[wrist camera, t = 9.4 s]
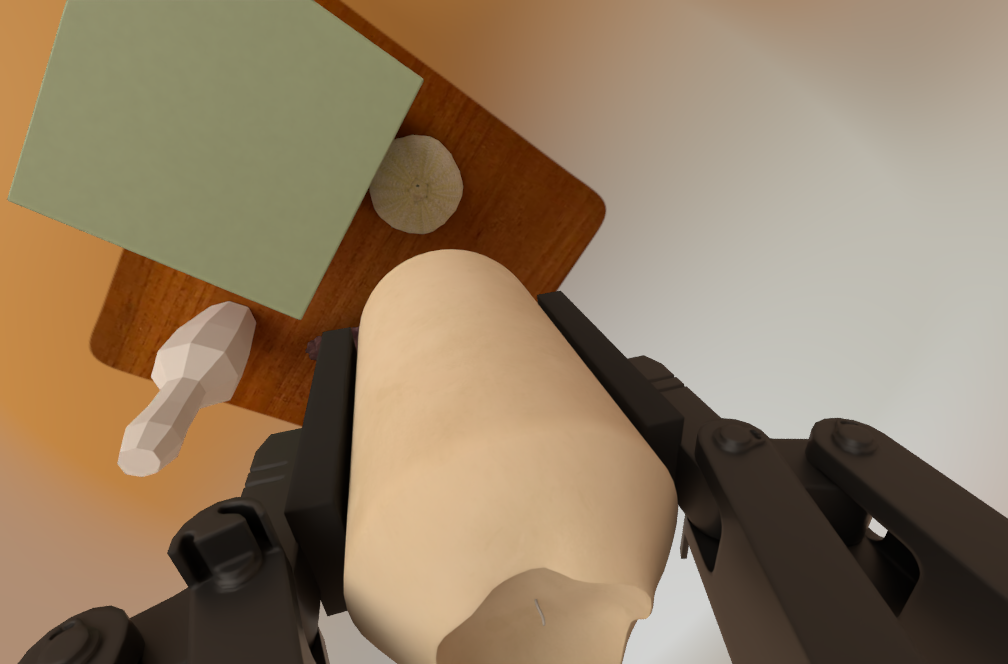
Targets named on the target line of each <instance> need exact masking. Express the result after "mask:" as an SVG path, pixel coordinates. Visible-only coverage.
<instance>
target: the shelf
mask: <svg viewBox="0 0 1008 664" xmlns="http://www.w3.org/2000/svg"><path fill="white" fill-rule="evenodd" d="M422 83H423V78H421V77H420V76H419V75H417V74H416V73H414V72H413V71H412V70H410V69H409V68H407V67H406V66H405V65H403V64H402V63H400V62H399V61H398V60H396V59H395V58H393V57H392V56H391V55H389V54H388V53H386V52H385V51H384V50H382V49H381V48H379V47H378V46H377V45H375V44H374V43H372V42H371V41H370V40H368V39H367V38H365V37H364V36H362V35H361V34H360V33H358V32H357V31H355V30H354V29H353V28H351V27H350V26H348V25H347V24H346V23H344V22H343V21H341V20H340V19H339V18H337V17H336V16H334V15H333V14H332V13H330V12H329V11H327V10H326V9H325V8H323V7H322V6H320V5H319V4H318V3H316V2H315V1H313V0H67V1H66V4H65V7H64V11H63V14H62V18H61V21H60V24H59V28H58V31H57V34H56V38H55V41H54V44H53V48H52V51H51V54H50V58H49V61H48V64H47V68H46V72H45V75H44V78H43V81H42V85H41V88H40V92H39V95H38V98H37V101H36V105H35V108H34V111H33V115H32V118H31V122H30V125H29V128H28V132H27V135H26V138H25V142H24V145H23V149H22V152H21V155H20V159H19V162H18V166H17V169H16V172H15V175H14V179H13V182H12V185H11V189H10V192H9V195H8V201H10V202H13V203H15V204H17V205H20V206H23V207H25V208H27V209H30V210H32V211H35V212H37V213H39V214H42V215H44V216H47V217H49V218H52V219H54V220H57V221H59V222H61V223H64V224H66V225H69V226H71V227H74V228H76V229H79V230H81V231H84V232H86V233H89V234H91V235H93V236H96V237H98V238H101V239H103V240H106V241H108V242H111V243H113V244H115V245H118V246H120V247H123V248H125V249H127V250H130V251H132V252H135V253H137V254H140V255H142V256H145V257H147V258H149V259H152V260H154V261H157V262H159V263H162V264H164V265H167V266H169V267H171V268H174V269H176V270H179V271H181V272H184V273H186V274H189V275H191V276H193V277H196V278H198V279H201V280H203V281H206V282H208V283H211V284H213V285H215V286H218V287H220V288H223V289H225V290H228V291H230V292H233V293H235V294H237V295H240V296H242V297H245V298H247V299H250V300H252V301H255V302H257V303H259V304H262V305H264V306H267V307H269V308H272V309H274V310H277V311H279V312H281V313H284V314H286V315H289V316H291V317H294V318H296V319H298V320H301V319H302V317H303V315H304V313H305V311H306V309H307V307H308V305H309V304H310V302H311V300H312V298H313V296H314V294H315V292H316V290H317V288H318V286H319V284H320V282H321V280H322V278H323V276H324V274H325V272H326V270H327V268H328V266H329V265H330V263H331V261H332V259H333V257H334V255H335V253H336V251H337V249H338V247H339V245H340V243H341V241H342V239H343V237H344V235H345V233H346V231H347V229H348V227H349V226H350V224H351V222H352V220H353V218H354V216H355V214H356V212H357V210H358V208H359V206H360V204H361V202H362V200H363V198H364V196H365V194H366V192H367V190H368V188H369V187H370V185H371V183H372V181H373V179H374V177H375V175H376V173H377V171H378V169H379V167H380V165H381V163H382V161H383V159H384V157H385V155H386V153H387V151H388V149H389V148H390V146H391V144H392V142H393V140H394V138H395V136H396V134H397V132H398V130H399V128H400V126H401V124H402V122H403V120H404V118H405V116H406V114H407V112H408V110H409V109H410V107H411V105H412V103H413V101H414V99H415V97H416V95H417V93H418V91H419V89H420V87H421V85H422Z"/></svg>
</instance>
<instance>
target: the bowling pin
mask: <svg viewBox="0 0 1008 664" xmlns="http://www.w3.org/2000/svg"><path fill="white" fill-rule="evenodd" d="M255 326H256V321H255V319H254V317H253V315H252V313H251V311H250V309H249V307H246V306H243V305H240V304H237V303H233V302H230V301H228V302H224V303H221V304H217V305H213V306H210V307H209V308H207V309H206V310H204V311H203V312H202V313H200V314H199V315H197V316H196V317H194V318H193V319H192V320H190V321H189V322H187V323H186V324H184V325H183V326H182V327H180V328H179V329H177V330H176V331H175V333H174V334H173V335H172V336H171V337H170V338H169V339H168V341H167V342H166V343H165V344H164V345H163V346H162V347H161V349H160V350H159V351H158V353H157V357H156V361H155V364H154V368H153V372H152V375H151V377H152V379H153V380H154V382H155V383H156V385H157V386H158V388H159V389H160V391H159V393H158V394H157V395H156V397H155V398H154V399H153V401H152V402H151V403H150V405H149V406H147V407H146V408H145V409H144V410H143V411H142V412H141V414H139V415H138V416H137V417H136V418H135V419H134V420H133V421H132V422H131V423H130V424H129V425H128V426H127V427H126V430H125V434H124V437H123V441H122V445H121V450H120V454H119V459H118V465H119V466H120V468H121V469H122V470H123V471H124V473H125V474H128V475H134V476H140V477H144V476H147V475H150V474H153V473H157V472H158V471H159V470H161V469H162V468H163V467H165V466H166V465H167V464H169V463H170V462H171V461H172V460H174V459H175V458H176V457H177V456H178V454H179V451H180V449H181V446H182V444H183V441H184V438H185V436H186V433H187V431H188V428H189V426H190V425H191V423H192V421H193V419H194V418H195V416H196V414H197V412H198V410H199V409H200V408H204V407H207V406H210V405H214V404H217V403H221V402H225V401H228V400H230V399H231V397H232V395H233V393H234V391H235V389H236V387H237V385H238V383H239V381H240V379H241V377H242V374H243V371H244V369H245V366H246V363H247V360H248V357H249V354H250V349H251V345H252V340H253V335H254V331H255Z"/></svg>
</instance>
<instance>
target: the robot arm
mask: <svg viewBox="0 0 1008 664" xmlns="http://www.w3.org/2000/svg"><path fill="white" fill-rule="evenodd" d="M537 300H538V305H539V306H540V307H541V308H542V310H543V311H544V312H545V314H546V315H547V316H548V317H549V319H550V320H551V321H552V322H553V324H554V325H555V326H556V328H557V329H558V330H559V331H560V333H561V334H562V335H563V336H564V338H565V339H566V340H567V342H568V343H569V344H570V345H571V347H572V348H573V349H574V350H575V352H576V353H577V354H578V356H579V357H580V358H581V359H582V361H583V362H584V363H585V364H586V366H587V367H588V368H589V370H590V371H591V372H592V373H593V375H594V376H595V377H596V379H597V380H598V381H599V382H600V384H601V385H602V386H603V387H604V389H605V390H606V391H607V393H608V394H609V395H610V396H611V398H612V399H613V400H614V401H615V403H616V404H617V405H618V407H619V408H620V409H621V410H622V412H623V413H624V414H625V415H626V417H627V418H628V419H629V421H630V422H631V423H632V424H633V426H634V427H635V428H636V429H637V431H638V432H639V433H640V435H641V436H642V437H643V438H644V440H645V441H646V442H647V443H648V445H649V446H650V447H651V449H652V450H653V451H654V452H655V454H656V455H657V456H658V458H659V459H660V460H661V461H662V463H663V464H664V465H665V467H666V468H667V469H668V471H669V473H670V475H671V477H672V479H673V481H674V485H675V489H676V493H677V500H678V505H679V506H680V508H681V509H682V510H683V512H684V513H685V519H684V526H683V533H682V539H681V546H680V553H681V559H685V558H687V553H688V547H689V546H690V549H691V552H692V554H693V557H694V560H695V563H696V565H697V568H698V571H699V573H700V576H701V579H702V582H703V584H704V587H705V590H706V593H707V596H708V598H709V601H710V604H711V606H712V609H713V612H714V615H715V617H716V620H717V622H718V625H719V628H720V631H721V634H722V636H723V639H724V642H725V644H726V647H727V650H728V653H729V656H730V658H731V661H732V664H1008V518H1006V517H1005V516H1003V515H1002V514H1000V513H999V512H997V511H996V510H994V509H993V508H992V507H990V506H989V505H987V504H986V503H984V502H983V501H981V500H980V499H978V498H977V497H976V496H974V495H973V494H971V493H970V492H968V491H967V490H965V489H964V488H962V487H961V486H959V485H958V484H957V483H955V482H954V481H952V480H951V479H949V478H948V477H946V476H945V475H943V474H942V473H941V472H939V471H938V470H936V469H935V468H933V467H932V466H930V465H929V464H928V463H926V462H925V461H923V460H922V459H920V458H919V457H917V456H916V455H914V454H913V453H911V452H910V451H909V450H907V449H906V448H904V447H903V446H901V445H900V444H898V443H897V442H895V441H894V440H893V439H891V438H890V437H888V436H887V435H885V434H884V433H882V432H880V431H878V430H877V429H875V428H873V427H871V426H869V425H866V424H863V423H860V422H857V421H854V420H849V419H842V418H829V419H823V420H821V421H819V422H816V423H815V425H814V426H813V428H812V430H811V434H810V437H809V439H771V438H769V437H768V436H767V435H766V434H764V432H763V431H761V430H760V429H758V428H756V427H755V426H753V425H751V424H749V423H746V422H742V421H739V420H736V419H724V418H720V417H719V416H718V415H717V414H716V413H715V412H714V411H713V410H712V409H711V408H710V407H708V406H707V405H706V404H705V403H704V402H703V401H702V400H701V399H700V398H699V397H697V396H696V395H695V394H694V393H693V392H692V391H691V390H690V389H689V388H688V387H685V386H684V384H683V383H682V382H681V381H680V380H679V379H678V378H677V377H674V375H673V374H672V373H671V372H670V371H669V370H668V369H667V368H666V367H665V366H664V365H663V364H661V363H659V362H657V361H655V360H653V359H651V358H648V357H646V356H639V357H633V358H629V359H627V358H626V357H625V356H624V355H623V354H622V353H621V352H620V351H619V350H618V349H617V348H616V347H615V346H614V345H613V344H612V343H611V342H610V341H609V340H608V339H607V338H606V337H605V336H604V334H603V333H602V332H601V331H600V330H598V329H597V327H596V326H595V325H594V324H593V323H592V322H591V321H590V320H589V319H588V318H587V317H586V316H585V315H584V314H583V313H582V312H581V311H580V310H579V309H578V308H577V307H576V306H575V305H574V304H573V303H572V302H571V301H570V300H569V299H568V298H567V297H566V296H565V295H564V294H563V293H562V292H561V291H556V292H551V293H545V294H539V295H537ZM356 364H357V350H356V346H355V342H354V338H353V334H352V330H351V327H349V328H344V329H338V330H332V331H326V332H323V334H322V339H321V343H320V348H319V353H318V357H317V362H316V367H315V371H314V376H313V380H312V385H311V390H310V394H309V399H308V403H307V408H306V413H305V417H304V422H303V427H302V428H300V429H295V430H290V431H285V432H280V433H276V434H271V435H270V436H269V437H268V438H267V439H266V441H265V442H264V443H263V444H262V445H261V446H260V448H259V449H258V450H257V451H256V453H255V456H254V459H253V462H252V465H251V468H250V473H249V474H248V477H247V480H246V483H245V488H244V489H243V492H242V495H241V497H235V498H231V499H228V500H224V501H221V502H217V503H216V504H214V505H212V506H210V507H208V508H206V509H204V510H202V511H200V512H199V513H198V514H196V515H195V516H194V517H193V518H191V519H190V520H189V521H187V522H186V523H185V524H184V525H183V526H182V527H181V529H180V530H179V531H178V533H177V534H176V535H175V536H174V537H173V539H172V541H171V544H170V547H169V550H168V553H167V554H168V555H169V557H170V558H171V560H172V562H173V563H174V565H175V566H176V568H177V569H178V571H179V573H180V574H181V576H182V577H183V579H184V580H185V582H186V584H187V585H188V588H186V589H185V590H183V591H181V592H180V593H178V594H176V595H175V596H173V597H171V598H169V599H167V600H165V601H163V602H161V603H159V604H157V605H155V606H153V607H151V608H149V609H147V610H145V611H144V612H142V613H139V614H137V615H136V616H134V617H131V618H129V617H128V615H127V614H126V613H125V612H124V611H123V610H122V609H119V608H116V607H113V606H105V607H97V608H92V609H90V610H87V611H85V612H82V613H80V614H77V615H75V616H73V617H71V618H69V619H68V620H66V621H65V622H63V623H61V624H60V625H58V626H57V627H55V628H54V629H52V630H51V631H49V632H48V633H47V634H46V635H45V636H43V637H42V638H41V639H40V640H39V641H38V642H37V643H36V644H35V645H33V646H32V647H31V648H30V649H29V650H28V651H27V652H26V654H25V655H24V656H23V658H22V659H21V660H20V662H19V663H18V664H330V663H329V659H328V654H327V650H326V645H325V641H324V638H323V636H322V634H321V631H320V629H319V627H318V619H319V609H320V600H321V602H322V604H323V606H324V609H325V611H326V614H327V616H330V615H334V614H337V613H341V612H344V611H348V610H347V607H346V602H345V598H344V563H345V546H346V529H347V512H348V496H349V479H350V463H351V446H352V430H353V414H354V397H355V381H356ZM872 517H873V518H874V519H876V520H877V521H878V522H879V523H880V524H881V525H882V526H884V527H885V528H886V529H887V530H888V531H887V534H886V536H885V537H884V538H883V537H880V536H878V535H877V534H876V533H874V532H873V531H872V530H871V529H870V528H868V526H869V524H870V522H871V519H872Z"/></svg>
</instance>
